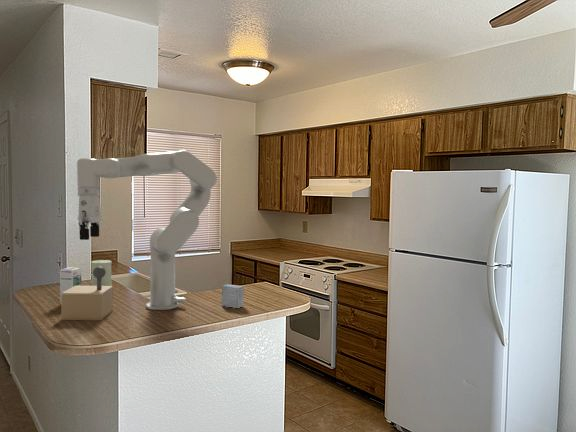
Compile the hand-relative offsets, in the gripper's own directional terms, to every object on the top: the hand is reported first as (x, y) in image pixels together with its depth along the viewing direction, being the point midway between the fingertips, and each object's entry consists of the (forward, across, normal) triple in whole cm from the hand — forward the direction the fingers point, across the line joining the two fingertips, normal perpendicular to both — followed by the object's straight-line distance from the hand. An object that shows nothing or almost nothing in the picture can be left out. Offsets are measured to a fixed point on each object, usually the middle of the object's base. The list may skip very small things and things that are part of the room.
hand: (89, 238), depth 177 cm
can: (+29, +50, +14) cm, 59 cm away
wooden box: (+28, -3, 0) cm, 28 cm away
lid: (+19, -3, 0) cm, 20 cm away
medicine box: (+30, +14, -52) cm, 61 cm away
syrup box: (+28, +13, +13) cm, 34 cm away
